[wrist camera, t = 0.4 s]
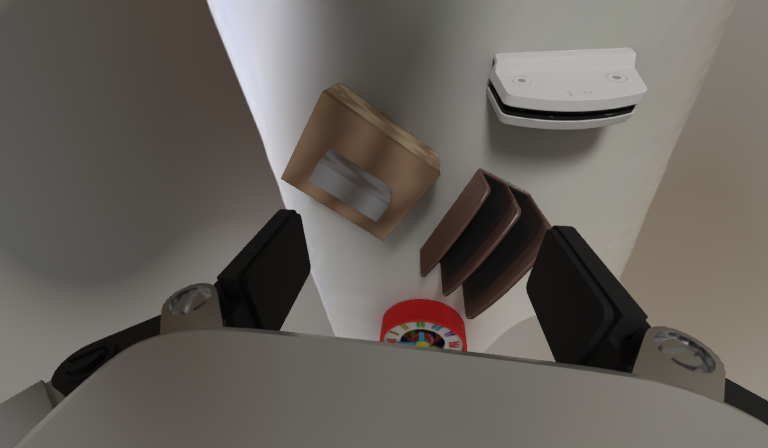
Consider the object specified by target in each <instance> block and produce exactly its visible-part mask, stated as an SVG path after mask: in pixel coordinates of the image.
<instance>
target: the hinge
mask: <svg viewBox="0 0 768 448" xmlns="http://www.w3.org/2000/svg"><path fill="white" fill-rule="evenodd" d="M493 59H494V62H495V63H494V66H493V68H492V71H491V73H490V76H489V78H490V80H491V82H492V84H493V85H490V87H487V96H488V98H489V100H490V102H491V104H492V106H493V108H494V110H495V112H496V115H497V117H498V119H499V120H500V121H501V122H502V123H505V124H510V125H515V126H522V127H529V128H540V129H562V130H568V129H587V128H597V127H603V126H609V125H614V124H618V123H622V122H625V121H626V120H627V119H628V118H629V117H630V116H631V115H632V114H634V112H635V109H634V108H635V105H637V104H639V103H641V102H642V101H643V99H644V96H645V94H646V92H647V87H646V85H645V84H644V82H643V81H642V79H641V77H640V76H639V74H638V72H637V71H636V69H635V59H636V53H635V52H634V51H633V50H632V49H631V48H610V49H587V50H564V51H541V52H518V53H495V54H494V57H493Z"/></svg>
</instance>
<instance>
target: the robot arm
mask: <svg viewBox="0 0 768 448" xmlns="http://www.w3.org/2000/svg"><path fill="white" fill-rule="evenodd" d="M310 269H311V265H310V260H309V255H308V250H307V244H306V239H305V234H304V229H303V224H302V219H301V215H300V214H297V212H296V211H295V210H287V209H280V210H279V211H278V212H277V213H276V214H275V215H274V216H273V217H272V218H271V219H270V220H269V221H268V222H267V224H266V225H265V226H264V227H263V228H262V229H261V230H260V231H259V232H258V233H257V234H256V235H255V236H254V238H253V239H252V240H251V241H250V242H249V243H248V244H247V245H246V246H245V247H244V248H243V250H242V251H241V252H240V253H239V254H238V255H237V256H236V257H235V258H234V259H233V260H232V261H231V262H230V264H229V265H228V266H227V267H226V268H225V269H224V270H223V271H222V272H221V273H220V274H219V275H218V277H217V279H218V281H217V282H216V283H215V284H214V285H212V284H209V283H197V284H193V285H189V286H187V287H185V288H182V289H180V290H178V291H177V292H175V293H174V294H172V295H171V296H170V297H169V298H168V299H167V300H166V301H165V303H164V304H163V306H162V310H161V315H159V316H156V317H154V318H152V319H149V320H147V321H144V322H142V323H139V324H137V325H135V326H132V327H130V328H128V329H125V330H123V331H120V332H118V333H115V334H113V335H110V336H108V337H105V338H103V339H101V340H98V341H96V342H94V343H91V344H89V345H87V346H85V347H83V348H81V349H80V350H78V351H76V352H75V353H73V354H72V355H71V356H69V357H68V358H67V359H66V360H65V361H64V362H62V363H61V365H60V366H59V367H58V368H57V369H56V371H55V373H54V375H53V376H52V379H51V381H49V382H47V383H45V382H44V381H42V380H41V381H39V382H37V383H35V384H34V385H32V386H30V387H29V388H27V389H25V390H23V391H22V392H20V393H18V394H16V395H15V396H13V397H11V398H10V399H8V400H6V401H5V402H3V403H1V404H0V448H768V401H767V400H765V399H763V398H761V397H759V396H757V395H756V394H754V393H752V392H750V391H748V390H747V389H745V388H743V387H741V386H739V385H738V384H736V383H734V382H732V381H730V380H729V379H727V378H725V374H726V372H725V368H724V364H723V363H722V361H721V360H720V358H719V357H718V356H717V355H716V354H715V353H714V352H713V351H712V350H711V349H710V348H709V347H707V346H706V345H705V344H703V343H702V342H700V341H699V340H697V339H696V338H694V337H692V336H690V335H688V334H686V333H684V332H681V331H679V330H676V329H673V328H669V327H665V326H655V327H651V326H650V325H649V324H648V323H647V322H646V319H647V317H648V316H647V315H646V314H645V313H644V312H643V310H642V309H641V308H640V307H639V305H638V304H637V303H636V302H635V301H634V299H633V298H632V297H631V296H630V294H629V293H628V292H627V291H626V290H625V288H624V287H623V286H622V285H621V284H620V282H619V281H618V280H617V279H616V278H615V276H614V275H613V274H612V273H611V272H610V270H609V269H608V268H607V267H606V266H605V264H604V263H603V262H602V261H601V260H600V258H599V257H598V256H597V255H596V253H595V252H594V251H593V250H592V249H591V247H590V246H589V245H588V244H587V243H586V241H585V240H584V239H583V238H582V237H581V235H580V234H579V233H578V232H577V231H576V229H575V228H574V227H571V226H553V227H552V228H551V229H548V230H547V231H546V232H545V235H544V238H543V240H542V243H541V246H540V249H539V251H538V254H537V257H536V260H535V262H534V265H533V268H532V271H531V273H530V276H529V279H528V281H527V286H526V289H527V294H528V296H529V298H530V301H531V303H532V306H533V308H534V310H535V313H536V315H537V318H538V320H539V323H540V325H541V327H542V330H543V332H544V335H545V337H546V340H547V342H548V344H549V346H550V349H551V352H552V354H553V356H554V359H555V361H556V362H551V361H544V360H535V359H526V358H518V357H509V356H501V355H493V354H484V353H476V352H467V351H459V350H450V349H441V348H432V347H423V346H415V345H406V344H397V343H388V342H379V341H370V340H361V339H351V338H342V337H333V336H323V335H314V334H304V333H295V332H285V331H280V329H281V327H282V325H283V323H284V321H285V319H286V317H287V315H288V313H289V311H290V310H291V308H292V306H293V304H294V302H295V300H296V298H297V296H298V294H299V292H300V291H301V289H302V287H303V285H304V283H305V281H306V279H307V277H308V275H309V273H310Z"/></svg>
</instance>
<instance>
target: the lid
mask: <svg viewBox="0 0 768 448" xmlns="http://www.w3.org/2000/svg"><path fill="white" fill-rule="evenodd" d="M439 176H440V171H438V170H437V169H435V168H434V167H433V166H431V165H430V164H428V163H427V162H426V161H424V160H423V159H421V158H420V157H419V156H417V155H416V154H414V153H413V152H412V151H410V150H409V149H407V148H406V147H404V146H403V145H402V144H400V143H399V142H397V141H396V140H395V139H393V138H392V137H390V136H389V135H388V134H386V133H385V132H383V131H382V130H381V129H379V128H378V127H376V126H375V125H374V124H372V123H371V122H369V121H368V120H367V119H365V118H364V117H362V116H361V115H360V114H358V113H357V112H355V111H354V110H352V109H351V108H350V107H348V106H347V105H345V104H344V103H343V102H341V101H340V100H338V99H337V98H336V97H334V96H333V95H331V94H330V93H329V92H327V91H326V90H325V91H323V92H322V93H321V95H320V98H319V100H318V102H317V104H316V106H315V108H314V110H313V112H312V114H311V116H310V119H309V121H308V123H307V125H306V127H305V129H304V131H303V133H302V135H301V138H300V140H299V142H298V144H297V146H296V148H295V150H294V152H293V154H292V156H291V159H290V161H289V163H288V165H287V167H286V169H285V171H284V173H283V175H282V177H281V179H282V180H284V181H286V182H287V183H289V184H291V185H292V186H294V187H296V188H297V189H299V190H301V191H302V192H304V193H305V194H307V195H309V196H310V197H312V198H314V199H315V200H317V201H319V202H320V203H322V204H324V205H325V206H327V207H329V208H330V209H332V210H333V211H335V212H337V213H338V214H340V215H342V216H343V217H345V218H347V219H348V220H350V221H352V222H353V223H355V224H357V225H358V226H360V227H362V228H363V229H365V230H366V231H368V232H370V233H371V234H373V235H375V236H376V237H378V238H380V239H381V240H384V239H385V238H386V237H387V236H388V235H389V233H390V232H391V231H392V230H393V229H394V228H395V227H396V225H397V224H398V223H399V222H400V221H401V220H402V219H403V217H404V216H405V215H406V214H407V213H408V212H409V210H410V209H411V208H412V207H413V206H414V205H415V204H416V202H417V201H418V200H419V199H420V198H421V197H422V196H423V194H424V193H425V192H426V191H427V190H428V189H429V188H430V186H431V185H432V184H433V183H434V182H435V181H436V179H437V178H438V177H439Z"/></svg>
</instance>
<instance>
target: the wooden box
mask: <svg viewBox="0 0 768 448" xmlns="http://www.w3.org/2000/svg"><path fill="white" fill-rule="evenodd" d="M326 91H327V92H329V93H330V94H331V95H333V96H334V97H336V98H337V99H338V100H340V101H341V102H343V103H344V104H345V105H347V106H348V107H350V108H351V109H352V110H354V111H355V112H357V113H358V114H360V115H361V116H362V117H364V118H365V119H367V120H368V121H369V122H371V123H372V124H374V125H375V126H376V127H378V128H379V129H381V130H382V131H383V132H385V133H386V134H388V135H389V136H390V137H392V138H393V139H395V140H396V141H397V142H399V143H400V144H402V145H403V146H404V147H406V148H407V149H409V150H410V151H412V152H413V153H414V154H416V155H417V156H419V157H420V158H421V159H423V160H424V161H426V162H427V163H428V164H430V165H431V166H433V167H434V168H435V169H437V170H438V171H440V168H439V159H438V154H437V153H436V152H435V151H433V150H432V149H430V148H429V147H428V146H426V145H425V144H424V143H422V142H421V141H419V140H418V139H417V138H415V137H414V136H413V135H411V134H410V133H408V132H407V131H406V130H404V129H403V128H402V127H400V126H399V125H397V124H396V123H395V122H393V121H392V120H391V119H389V118H388V117H387V116H385V115H384V114H382V113H381V112H380V111H378V110H377V109H376V108H374V107H373V106H371V105H370V104H369V103H367V102H366V101H365V100H363V99H362V98H360V97H359V96H358V95H356V94H355V93H354V92H352V91H351V90H349V89H348V88H347V87H345V86H344V85H343V84H341V83H339V84H337V85H335V86H333V87H331V88H329V89H327V90H326Z"/></svg>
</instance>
